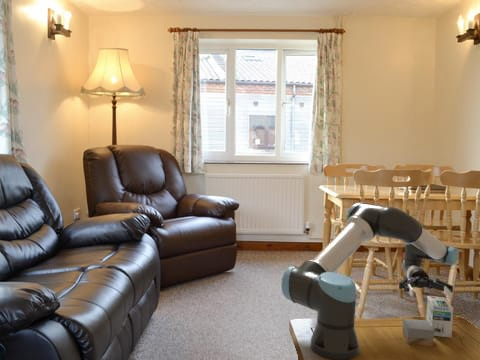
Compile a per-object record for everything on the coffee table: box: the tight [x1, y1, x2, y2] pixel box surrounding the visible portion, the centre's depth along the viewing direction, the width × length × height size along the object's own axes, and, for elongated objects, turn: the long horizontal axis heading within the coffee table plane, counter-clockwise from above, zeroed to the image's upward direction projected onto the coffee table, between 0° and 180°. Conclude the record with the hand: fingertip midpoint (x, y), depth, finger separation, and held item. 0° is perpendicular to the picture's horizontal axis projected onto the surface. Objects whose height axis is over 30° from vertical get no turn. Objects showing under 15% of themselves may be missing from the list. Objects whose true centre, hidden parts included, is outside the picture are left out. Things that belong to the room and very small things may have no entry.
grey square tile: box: [402, 318, 435, 340], centre depth 152 cm, size 8×8×3 cm
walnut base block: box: [401, 327, 434, 347], centre depth 152 cm, size 8×8×3 cm
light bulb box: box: [425, 295, 454, 338], centre depth 159 cm, size 11×7×11 cm, turn 168°
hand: (430, 294), depth 171 cm, fingers open, 13 cm apart
